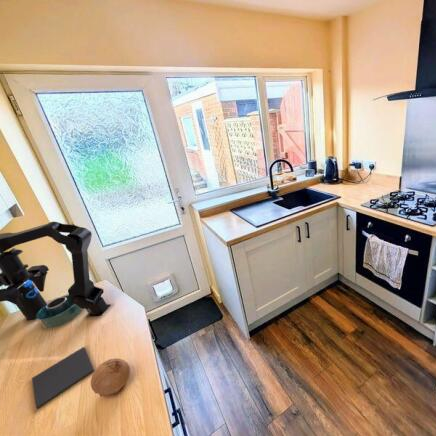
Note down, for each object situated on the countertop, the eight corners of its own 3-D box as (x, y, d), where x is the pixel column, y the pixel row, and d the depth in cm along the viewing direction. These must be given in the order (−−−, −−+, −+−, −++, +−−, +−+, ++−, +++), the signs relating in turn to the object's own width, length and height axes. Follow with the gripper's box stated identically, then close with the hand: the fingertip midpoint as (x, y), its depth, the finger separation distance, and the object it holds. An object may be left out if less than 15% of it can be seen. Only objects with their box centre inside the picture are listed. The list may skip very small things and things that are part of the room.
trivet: (33, 379, 80) (31, 378, 80) (84, 348, 89) (83, 346, 89) (37, 409, 71) (36, 407, 71) (94, 371, 80) (93, 369, 80)
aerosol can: (23, 324, 104) (-6, 287, 95) (30, 312, 110) (4, 276, 102) (47, 316, 107) (21, 279, 98) (53, 304, 114) (30, 269, 105)
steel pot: (77, 308, 109) (70, 296, 106) (65, 320, 103) (56, 307, 100) (63, 309, 109) (55, 297, 106) (50, 321, 103) (41, 308, 100)
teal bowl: (92, 302, 112) (87, 293, 110) (66, 328, 99) (59, 318, 97) (63, 304, 113) (57, 295, 110) (33, 330, 100) (26, 320, 98)
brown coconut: (134, 383, 78) (139, 359, 76) (105, 410, 69) (110, 384, 67) (111, 368, 80) (116, 344, 77) (80, 392, 71) (84, 367, 69)
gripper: (10, 256, 99) (29, 287, 105) (-39, 286, 82) (-12, 320, 88) (40, 252, 100) (58, 282, 107) (-2, 281, 83) (22, 315, 90)
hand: (33, 299), depth 98 cm, fingers open, 9 cm apart
